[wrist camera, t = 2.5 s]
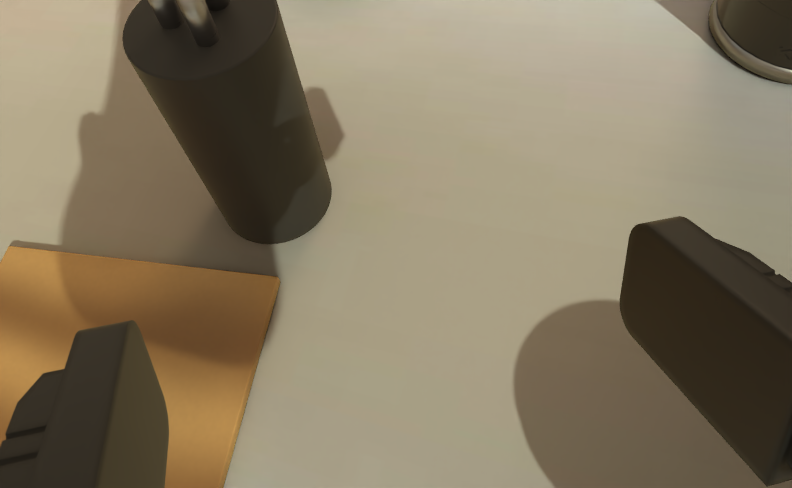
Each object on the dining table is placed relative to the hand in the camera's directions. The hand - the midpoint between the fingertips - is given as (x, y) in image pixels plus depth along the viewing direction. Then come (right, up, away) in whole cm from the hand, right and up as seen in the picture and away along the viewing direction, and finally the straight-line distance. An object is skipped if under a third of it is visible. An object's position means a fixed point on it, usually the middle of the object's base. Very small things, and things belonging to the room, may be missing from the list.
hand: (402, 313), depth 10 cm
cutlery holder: (-7, +4, +24) cm, 25 cm away
